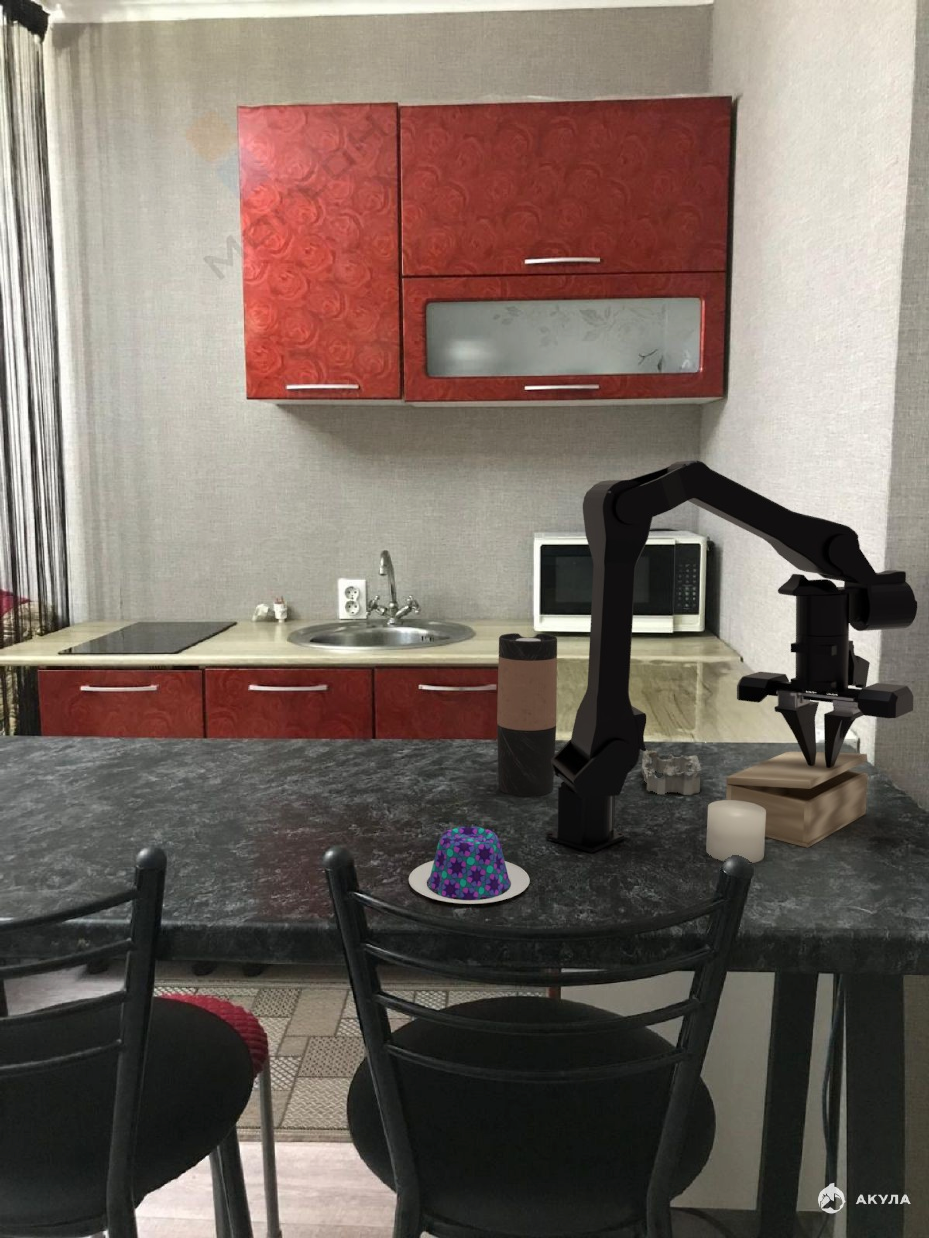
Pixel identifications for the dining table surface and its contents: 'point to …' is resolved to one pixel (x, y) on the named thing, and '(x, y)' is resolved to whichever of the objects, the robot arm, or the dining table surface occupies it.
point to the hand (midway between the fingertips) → (820, 766)
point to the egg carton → (671, 773)
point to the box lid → (795, 770)
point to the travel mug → (526, 713)
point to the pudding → (469, 869)
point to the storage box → (807, 807)
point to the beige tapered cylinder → (736, 830)
